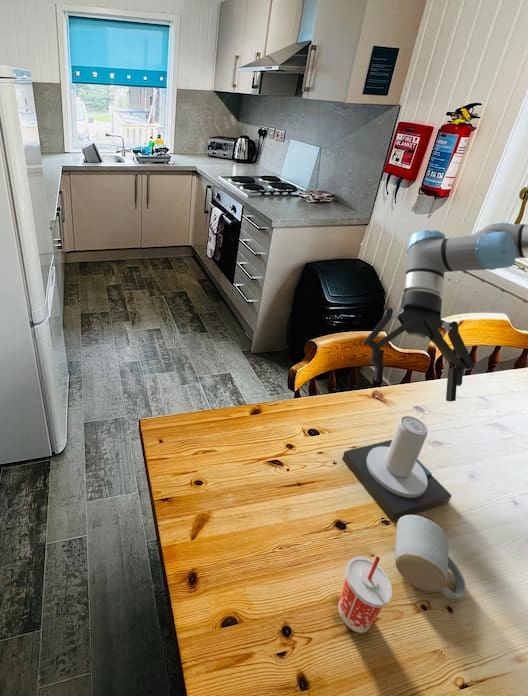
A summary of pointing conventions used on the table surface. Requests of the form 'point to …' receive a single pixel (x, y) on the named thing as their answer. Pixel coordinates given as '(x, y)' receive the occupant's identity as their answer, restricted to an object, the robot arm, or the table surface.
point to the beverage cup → (363, 593)
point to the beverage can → (405, 446)
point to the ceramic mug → (425, 556)
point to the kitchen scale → (395, 482)
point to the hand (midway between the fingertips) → (412, 390)
